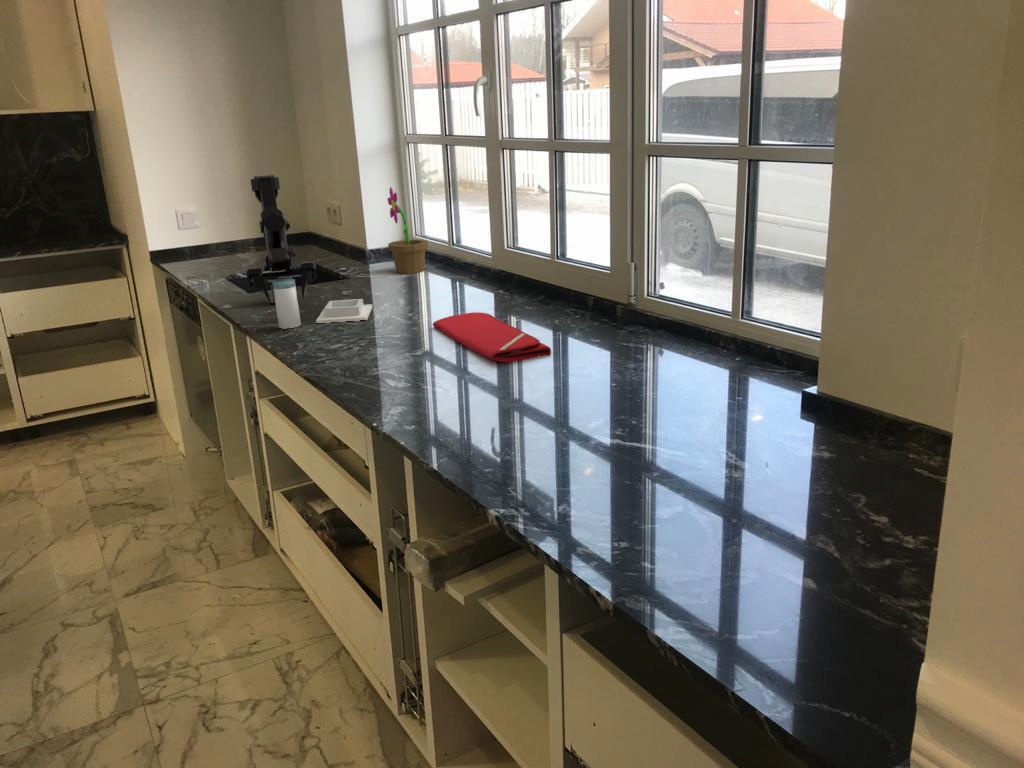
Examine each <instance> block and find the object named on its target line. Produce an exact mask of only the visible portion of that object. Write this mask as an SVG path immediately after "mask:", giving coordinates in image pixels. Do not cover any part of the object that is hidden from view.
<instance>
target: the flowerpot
mask: <svg viewBox="0 0 1024 768" xmlns="http://www.w3.org/2000/svg"><path fill="white" fill-rule="evenodd" d="M389 196H390V197H387V203H388V205H389V206H391V208H389V209H390V210H389V216H390V218H391V219H392V218H393V219H394V222H395V224H398V214H399V213H400V215H401V216H402V220H403V223H404V227H405V228H404V230H403V233H404V234H405V239H402V240H396V241H392V242H388V243H387V246H388V251H389V252H391V253H392V258H393V263H394V266H395V271H396V273H397V274H400V275H413V274H414V275H415V274H421V273H423V272H425V267H426V263H425V262H426V249H428V248H429V242H428V240H426V239H410V235H409V229H408V228H409V226H408V224H407V223H408V222H407V219H406V216H405V213H404V212H403V210H402V209H401V207H400V206H399V204H398V203H397V202H398V195H397V192H394V191H393V188H392V186H389Z"/></svg>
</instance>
